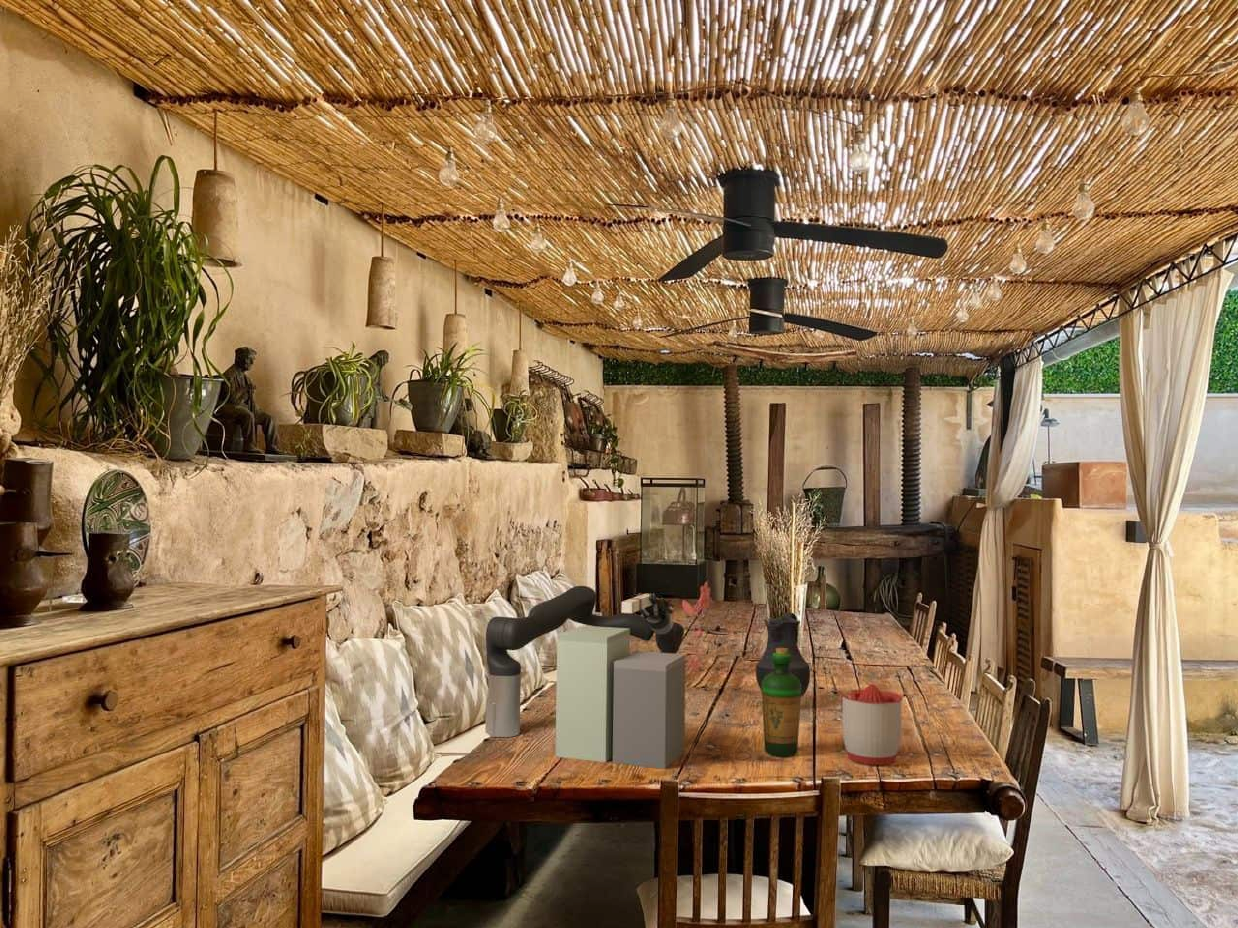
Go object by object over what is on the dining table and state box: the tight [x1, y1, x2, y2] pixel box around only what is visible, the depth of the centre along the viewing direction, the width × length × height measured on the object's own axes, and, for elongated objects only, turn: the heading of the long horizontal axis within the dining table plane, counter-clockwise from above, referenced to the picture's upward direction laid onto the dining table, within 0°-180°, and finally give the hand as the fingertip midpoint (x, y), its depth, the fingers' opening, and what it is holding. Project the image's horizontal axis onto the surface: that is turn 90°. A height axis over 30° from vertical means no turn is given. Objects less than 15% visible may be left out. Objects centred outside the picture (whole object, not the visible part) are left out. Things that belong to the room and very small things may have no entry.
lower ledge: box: [612, 650, 686, 770], centre depth 257 cm, size 18×14×26 cm
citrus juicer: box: [836, 683, 903, 766], centre depth 257 cm, size 16×17×20 cm
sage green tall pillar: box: [555, 625, 631, 763], centre depth 262 cm, size 18×14×32 cm
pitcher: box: [755, 611, 811, 698], centre depth 319 cm, size 17×21×30 cm
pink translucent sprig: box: [681, 581, 725, 677], centre depth 375 cm, size 15×26×35 cm, turn 158°
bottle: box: [761, 648, 802, 758], centre depth 262 cm, size 11×11×28 cm
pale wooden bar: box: [621, 593, 655, 614], centre depth 282 cm, size 22×3×3 cm, turn 161°
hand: (644, 595), depth 288 cm, fingers closed on pale wooden bar, 3 cm apart
